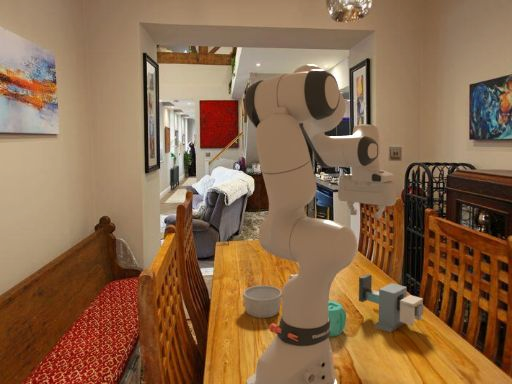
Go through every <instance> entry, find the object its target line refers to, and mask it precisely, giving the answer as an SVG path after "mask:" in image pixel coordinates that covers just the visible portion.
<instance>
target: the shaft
mask: <svg viewBox="0 0 512 384" xmlns="http://www.w3.org/2000/svg"><path fill="white" fill-rule="evenodd" d="M358 279H359V280H358V301H359V302H362V303H364V302H366V301H368V302H371V303H374V304H378V305H379V290H374V289H372V274H369V273H367V274H364V275H362V276H361V275H360V277H359V278H358ZM400 300H402V298H397V310H399V311H400ZM421 315H422V316H423V315H424V304H423V305H422V304H419V305H418V306H416V307H415V316H418V317H419V316H421Z"/></svg>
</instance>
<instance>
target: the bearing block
mask: <svg viewBox="0 0 512 384" xmlns="http://www.w3.org/2000/svg"><path fill="white" fill-rule="evenodd" d="M407 289H408V288H407V286H404V285H400V284H397V283H392V282H390V283H389V284H387V285H385V286H382V287H381V288H379V289H378V292H379V304H378V321H376V323H374V328H376V329H379V330H382V331H384V332H387V333H391V332H393V331H395V330H396V329H398V328H399V327H401V326H403V325H404V324H405V323H403V322H400V311H399V310H397V298H402V299H403V298H405V297H407Z"/></svg>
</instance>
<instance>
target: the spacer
mask: <svg viewBox="0 0 512 384" xmlns="http://www.w3.org/2000/svg"><path fill="white" fill-rule="evenodd" d="M423 301H424V299H423V298H422V297H419V296H415V295H411V294H409V295H406V297H405V298H403V299H402V300H400V322H403V323H404V324H406V325H409V326H412V327H414V325H415V320H418V321H422V320H423V314H422V315H421V316H419V317H418V316H415V307H416V306H418V305H419V304H422V305H423V306H424V304H423Z"/></svg>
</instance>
